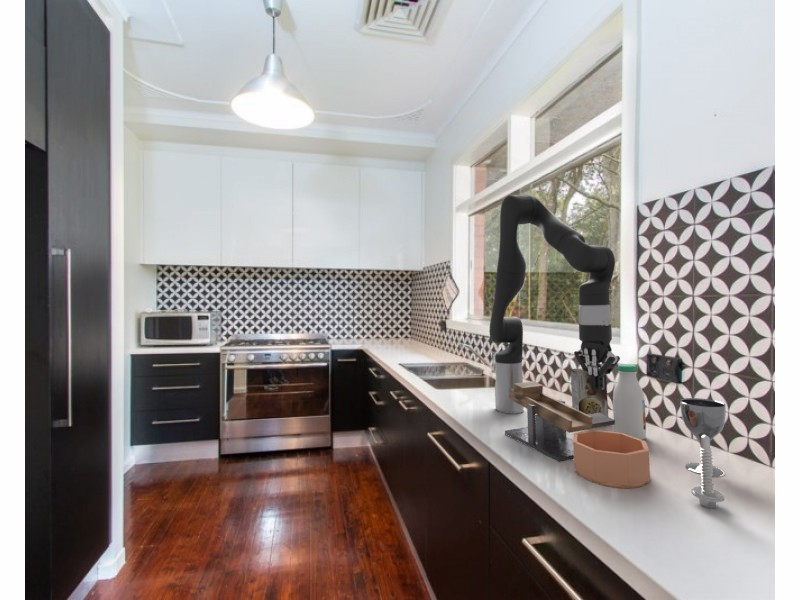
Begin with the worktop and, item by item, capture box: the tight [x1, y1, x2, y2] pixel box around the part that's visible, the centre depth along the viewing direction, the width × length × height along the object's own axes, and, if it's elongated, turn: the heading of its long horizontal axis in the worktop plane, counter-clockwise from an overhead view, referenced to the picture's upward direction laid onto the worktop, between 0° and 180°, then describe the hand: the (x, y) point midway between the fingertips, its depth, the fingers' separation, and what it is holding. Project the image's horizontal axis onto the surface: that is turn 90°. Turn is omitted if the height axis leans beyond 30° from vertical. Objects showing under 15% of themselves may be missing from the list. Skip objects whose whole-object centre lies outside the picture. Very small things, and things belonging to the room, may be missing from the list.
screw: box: [690, 435, 726, 509], centre depth 72 cm, size 13×5×5 cm
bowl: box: [572, 429, 651, 489], centre depth 86 cm, size 14×14×7 cm
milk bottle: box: [612, 363, 647, 441], centre depth 108 cm, size 8×8×20 cm
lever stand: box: [504, 399, 574, 463], centre depth 105 cm, size 22×12×11 cm, turn 20°
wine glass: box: [679, 397, 727, 478], centre depth 86 cm, size 8×8×15 cm
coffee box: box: [570, 367, 609, 417], centre depth 124 cm, size 9×6×16 cm
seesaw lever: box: [509, 381, 615, 433], centre depth 106 cm, size 24×15×5 cm, turn 20°
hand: (596, 389), depth 100 cm, fingers closed
